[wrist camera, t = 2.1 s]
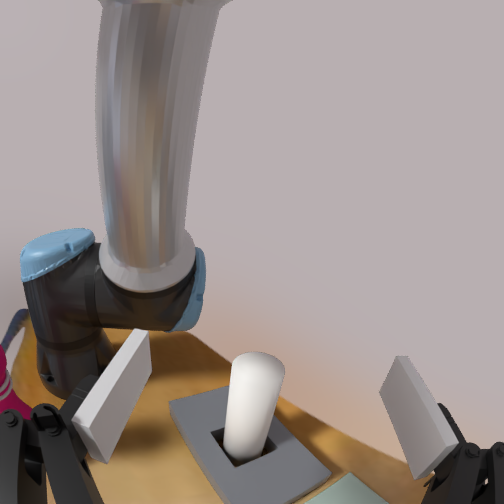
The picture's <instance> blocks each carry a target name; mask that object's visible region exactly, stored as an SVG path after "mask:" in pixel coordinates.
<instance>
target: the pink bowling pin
mask: <svg viewBox="0 0 504 504" xmlns="http://www.w3.org/2000/svg"><path fill="white" fill-rule="evenodd" d="M6 365H7V362H6V356H5V353H4V350H3V348H2V346H1V345H0V414H1V413H2V412H3V411H4V410H7V409H15V410H17V411H19V412H20V413H21V415H22V416H23V418H24V419H28V420H31V419H30V413H31V411H32V408H31V407H29V406H28V405H27V404H25V403H24V402H23V401H22V400H20V399H19V397H18V396H17V395H16V394H15V392H14V390H13V389H12V379H11V377H10V375H9V372H8V370H7V369H6Z"/></svg>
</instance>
